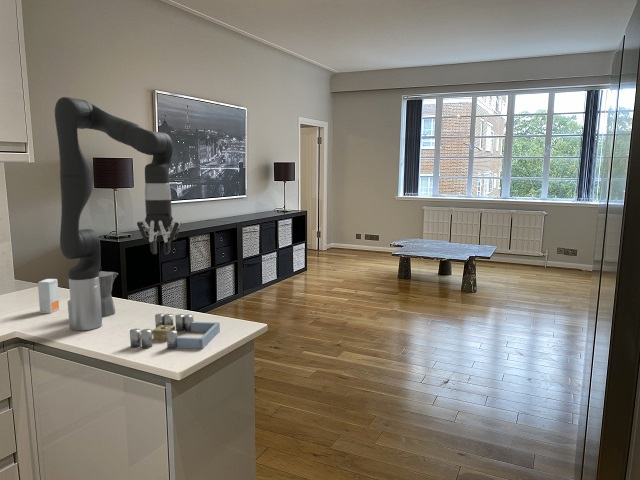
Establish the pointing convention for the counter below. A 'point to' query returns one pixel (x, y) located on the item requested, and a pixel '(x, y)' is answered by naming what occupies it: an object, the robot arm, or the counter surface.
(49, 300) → the skincare box
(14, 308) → the counter surface
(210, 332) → the parts bay
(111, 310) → the coffeepot
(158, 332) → the yellow knobbed block
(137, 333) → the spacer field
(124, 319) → the counter surface
